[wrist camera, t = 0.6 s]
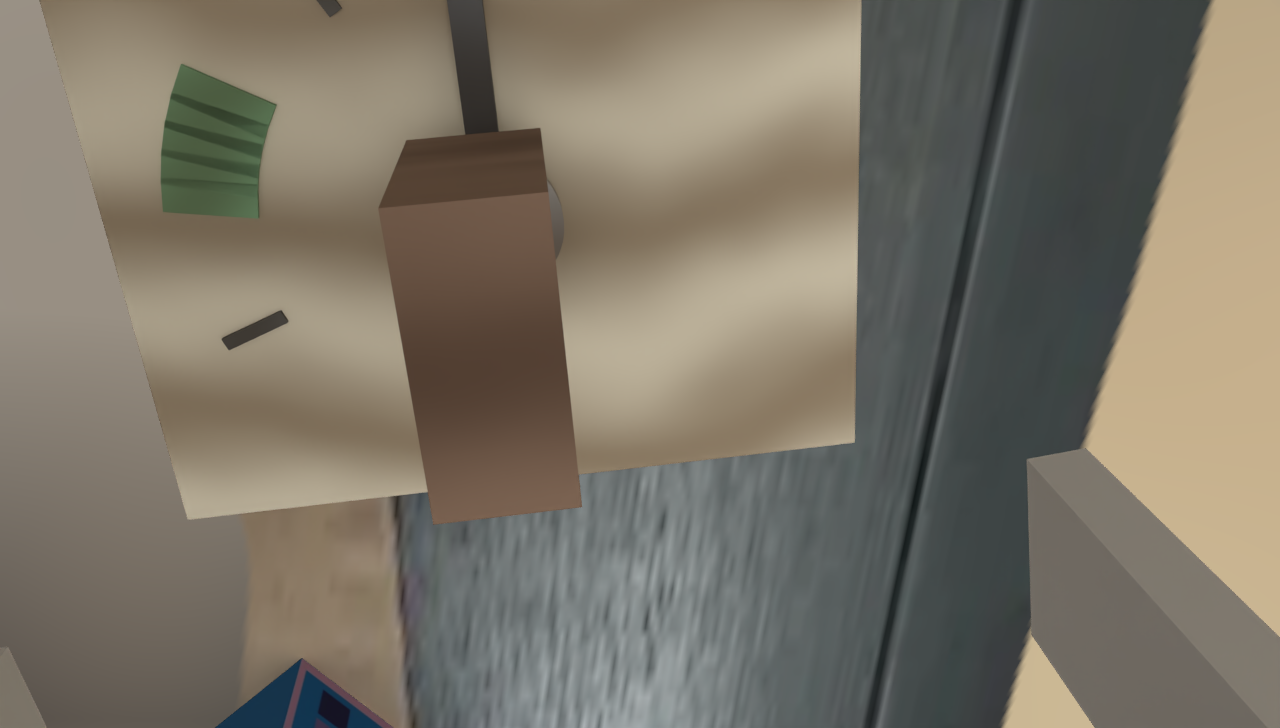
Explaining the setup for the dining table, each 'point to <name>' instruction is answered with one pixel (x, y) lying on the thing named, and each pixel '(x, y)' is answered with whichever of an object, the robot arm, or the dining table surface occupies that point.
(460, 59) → the peg
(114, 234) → the tuner board
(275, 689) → the box
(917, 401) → the dining table surface
